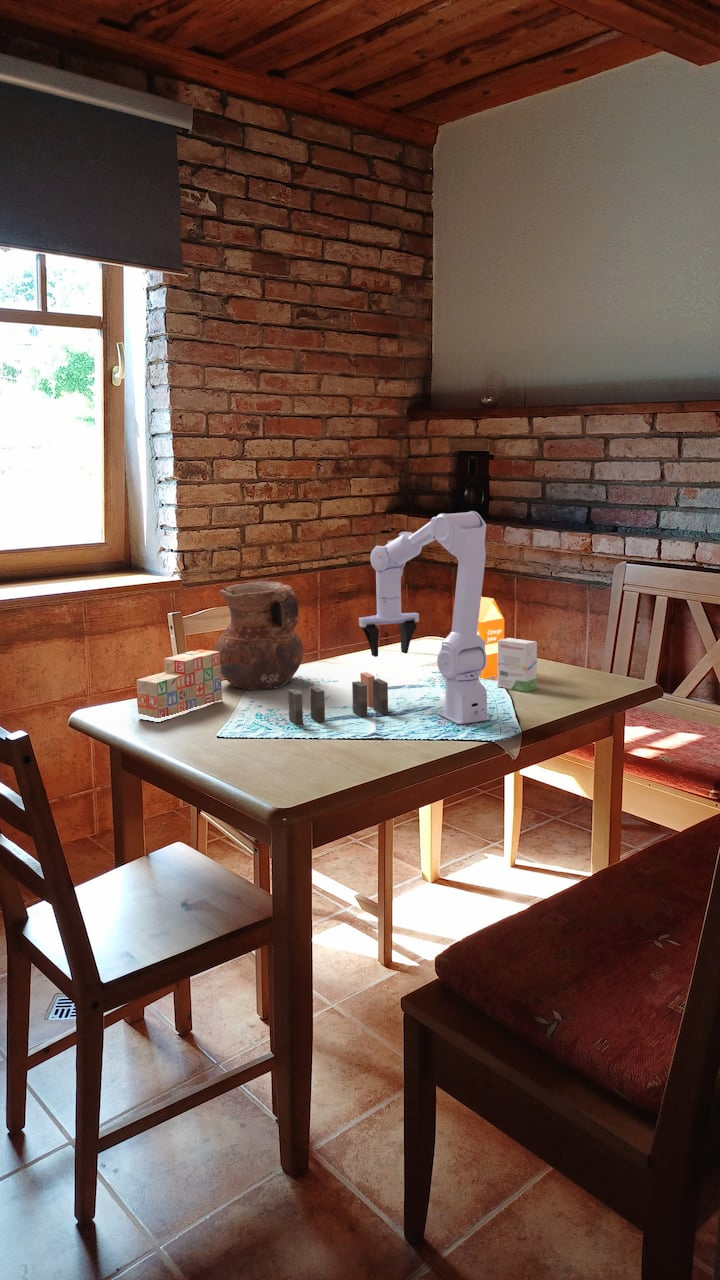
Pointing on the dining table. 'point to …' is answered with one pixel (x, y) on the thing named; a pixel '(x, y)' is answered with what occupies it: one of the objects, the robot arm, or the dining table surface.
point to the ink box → (517, 664)
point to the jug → (260, 635)
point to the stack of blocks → (181, 684)
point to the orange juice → (490, 633)
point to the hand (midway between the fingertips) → (389, 654)
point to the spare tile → (368, 687)
